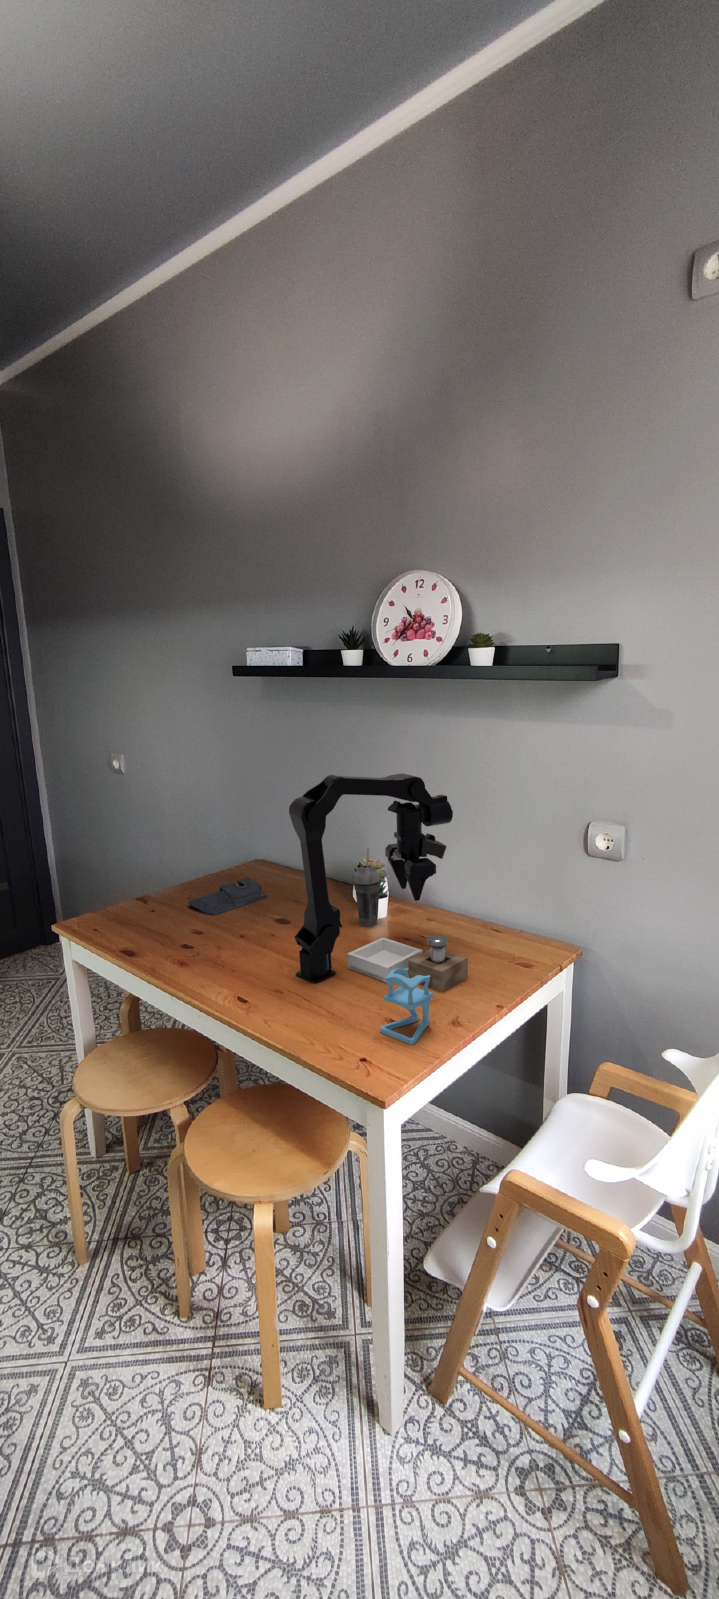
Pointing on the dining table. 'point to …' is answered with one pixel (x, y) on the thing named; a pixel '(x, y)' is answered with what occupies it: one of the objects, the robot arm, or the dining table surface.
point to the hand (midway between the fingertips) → (410, 894)
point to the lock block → (439, 970)
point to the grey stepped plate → (229, 897)
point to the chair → (407, 1002)
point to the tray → (381, 958)
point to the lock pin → (437, 948)
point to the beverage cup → (367, 893)
